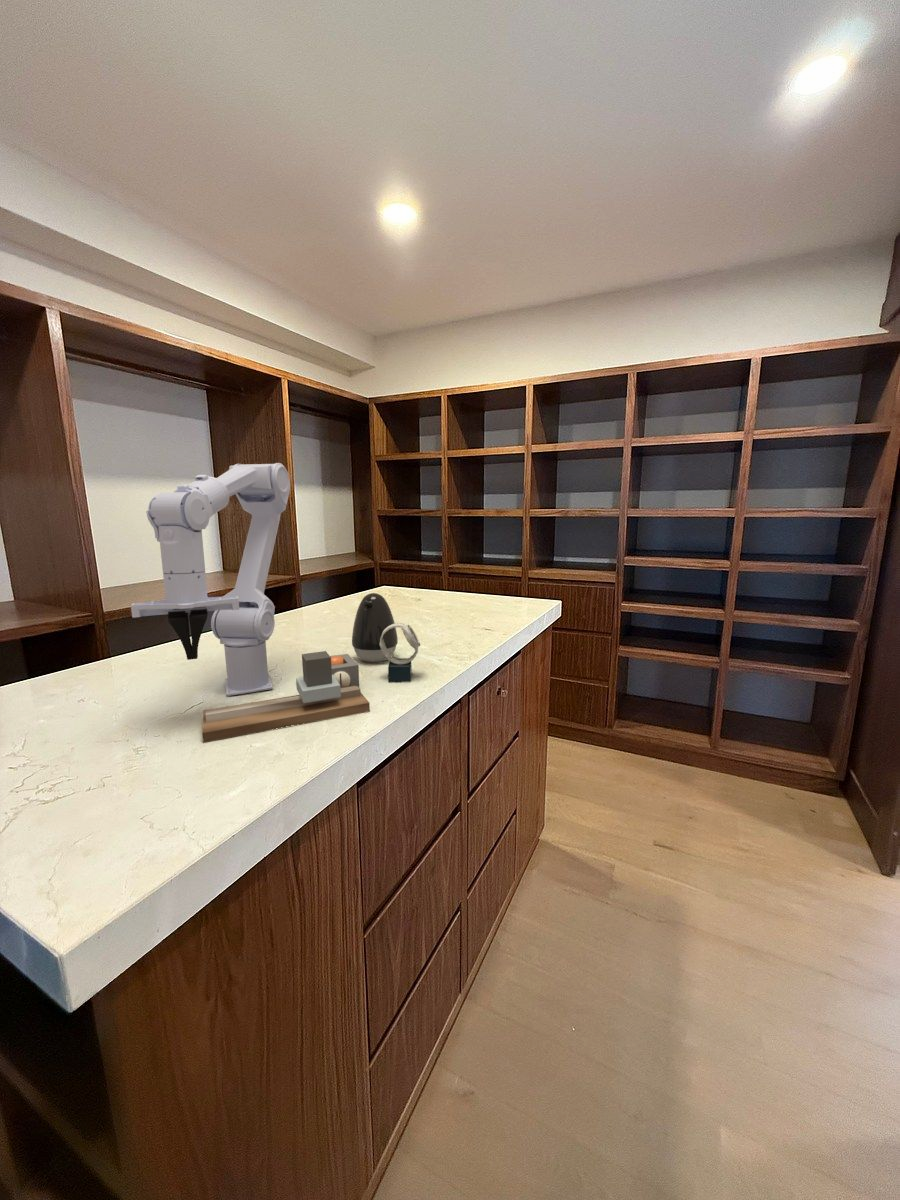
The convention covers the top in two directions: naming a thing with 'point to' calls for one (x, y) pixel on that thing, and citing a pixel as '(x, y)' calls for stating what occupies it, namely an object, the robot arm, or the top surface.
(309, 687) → the carriage
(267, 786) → the top surface
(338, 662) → the button
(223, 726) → the rail track
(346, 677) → the gauge cabinet
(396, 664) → the watch
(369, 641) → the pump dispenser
